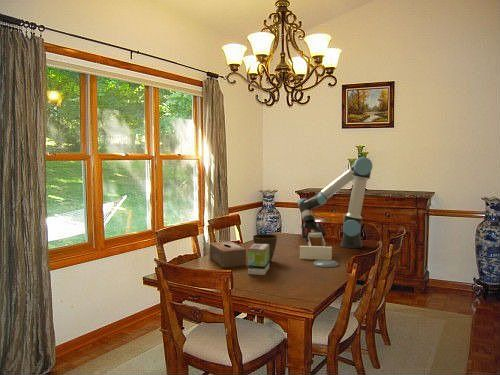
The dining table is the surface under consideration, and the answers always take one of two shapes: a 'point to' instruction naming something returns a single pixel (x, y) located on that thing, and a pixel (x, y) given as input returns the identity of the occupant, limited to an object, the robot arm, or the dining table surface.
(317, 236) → the disposable coffee cup
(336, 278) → the dining table surface
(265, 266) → the tea box
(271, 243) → the plant pot
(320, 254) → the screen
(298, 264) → the dining table surface
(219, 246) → the tissue box cover
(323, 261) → the plate
